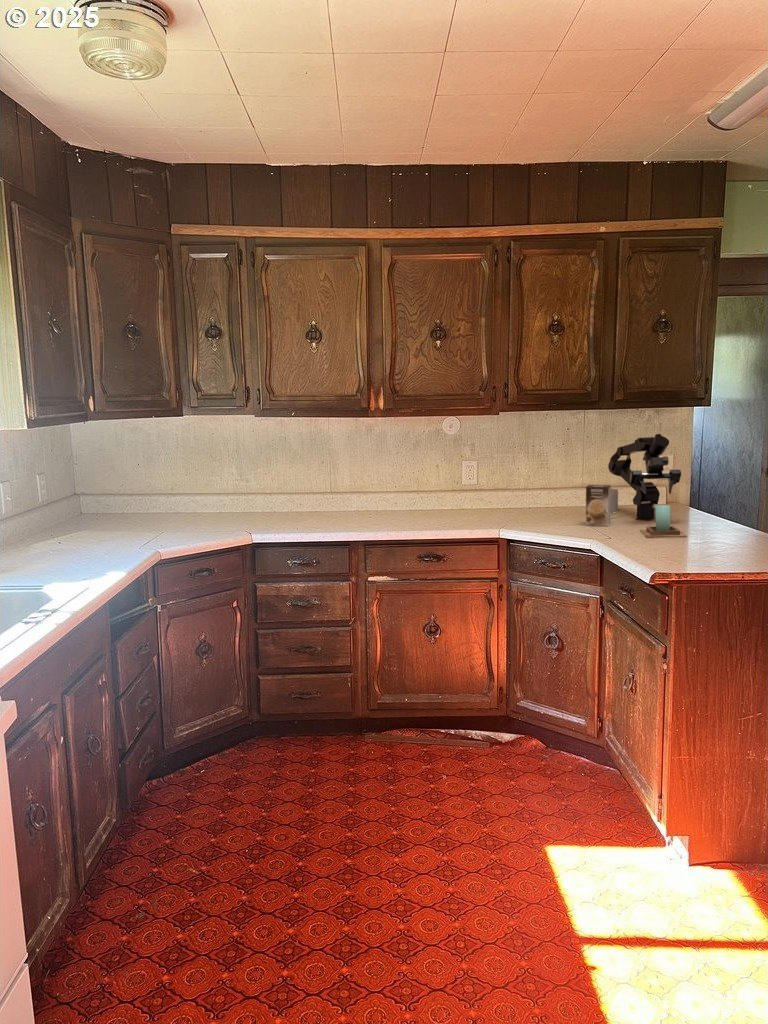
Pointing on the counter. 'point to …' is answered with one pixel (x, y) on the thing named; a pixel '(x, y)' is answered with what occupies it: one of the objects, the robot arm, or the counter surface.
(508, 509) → the counter surface
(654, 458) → the robot arm
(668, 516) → the green dome-top cylinder
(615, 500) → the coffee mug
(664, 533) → the cradle board
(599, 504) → the coffee box
